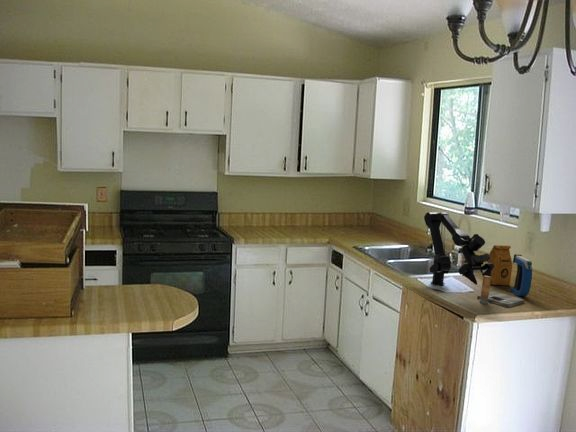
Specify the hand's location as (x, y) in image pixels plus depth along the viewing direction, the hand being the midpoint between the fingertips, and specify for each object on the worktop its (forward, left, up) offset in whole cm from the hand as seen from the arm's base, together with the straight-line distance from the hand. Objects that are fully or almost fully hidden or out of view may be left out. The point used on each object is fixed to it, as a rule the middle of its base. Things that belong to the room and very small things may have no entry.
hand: (483, 283), depth 283 cm
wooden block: (+1, +1, -9) cm, 9 cm away
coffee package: (-45, +5, -9) cm, 46 cm away
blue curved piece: (-29, +16, -9) cm, 34 cm away
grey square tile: (-10, +8, -9) cm, 16 cm away
